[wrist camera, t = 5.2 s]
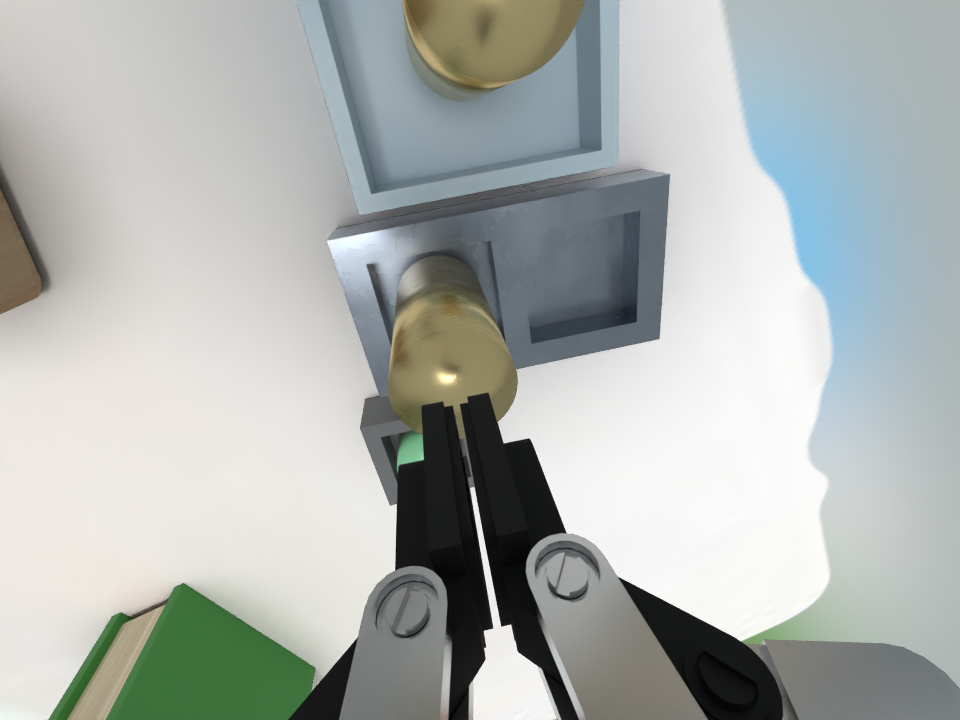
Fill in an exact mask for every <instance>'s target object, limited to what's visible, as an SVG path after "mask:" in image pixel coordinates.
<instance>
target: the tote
mask: <svg viewBox="0 0 960 720" xmlns="http://www.w3.org/2000/svg"><path fill="white" fill-rule="evenodd" d="M296 2H297V6H298V9H299V12H300V16H301V19H302V23H303V26H304V29H305V33H306V36H307V40H308V43H309V46H310V50H311V53H312V57H313V60H314V63H315V67H316V70H317V74H318V77H319V80H320V84H321V87H322V91H323V94H324V97H325V101H326V104H327V108H328V111H329V114H330V118H331V121H332V125H333V128H334V131H335V135H336V138H337V142H338V145H339V148H340V152H341V155H342V159H343V162H344V165H345V169H346V172H347V176H348V179H349V182H350V186H351V189H352V193H353V196H354V199H355V203H356V206H357V210H358V213H359V215H363V214H369V213H374V212H379V211H384V210H389V209H395V208H400V207H405V206H410V205H415V204H421V203H426V202H431V201H436V200H441V199H447V198H452V197H457V196H462V195H467V194H473V193H478V192H483V191H488V190H493V189H499V188H504V187H509V186H514V185H519V184H525V183H530V182H535V181H540V180H545V179H550V178H556V177H561V176H566V175H571V174H576V173H582V172H587V171H592V170H597V169H602V168H608V167H613V166H618V75H619V0H585V3H584V6H583V9H582V12H581V15H580V17H579V19H578V21H577V24H576V26H575V28H574V30H573V31H572V33H571V35H570V36H569V38H568V40H567V41H566V42H565V44H564V45H563V47H562V48H561V49H560V50H559V52H558V53H557V54H556V55H555V56H554V57H553V58H552V59H551V60H550V61H549V62H547V63H546V64H545V65H544V66H543V67H541V68H540V69H538V70H536V71H535V72H533V73H532V74H529V75H527V76H525V77H523V78H521V79H519V80H517V81H514V82H512V83H510V84H508V85H506V86H504V87H501V88H499V89H497V90H495V91H493V92H491V93H489V94H486V95H484V96H482V97H480V98H478V99H475V100H471V101H464V102H461V101H452V100H449V99H446V98H443V97H441V96H439V95H437V94H436V93H435V92H433V91H432V90H431V89H430V88H428V87H427V86H426V85H425V84H424V82H423V81H422V80H421V79H420V77H419V76H418V74H417V73H416V71H415V69H414V67H413V65H412V62H411V60H410V57H409V53H408V49H407V44H406V36H405V25H404V15H403V4H402V0H296Z"/></svg>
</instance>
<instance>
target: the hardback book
mask: <svg viewBox="0 0 960 720" xmlns="http://www.w3.org/2000/svg"><path fill="white" fill-rule="evenodd" d="M314 672H315V667H313V666H312V665H310V664H309V663H307V662H305V661H304V660H302V659H301V658H299V657H298V656H296V655H295V654H293V653H291V652H290V651H288V650H287V649H285V648H284V647H282V646H281V645H279V644H277V643H276V642H274V641H273V640H271V639H270V638H268V637H267V636H265V635H263V634H262V633H260V632H259V631H257V630H256V629H254V628H253V627H251V626H249V625H248V624H246V623H245V622H243V621H242V620H240V619H239V618H237V617H236V616H234V615H232V614H231V613H229V612H228V611H226V610H225V609H223V608H222V607H220V606H218V605H217V604H215V603H214V602H212V601H211V600H209V599H208V598H206V597H204V596H203V595H201V594H200V593H198V592H197V591H195V590H194V589H192V588H190V587H189V586H187V585H186V584H184V583H183V584H181V585H179V586H176V587H174V589H173V591H172V593H171V595H170V597H169V599H168V601H167V603H166V604H165V605H163V606H161V607H159V608H156V609H154V610H152V611H150V612H148V613H146V614H143V615H141V616H139V617H137V618H135V619H132V618H130V617H128V616H127V615H125V614H123V613H119V614H117V615H114V616H112V618H111V619H110V621H109V623H108V624H107V626H106V627H105V629H104V631H103V632H102V634H101V635H100V637H99V639H98V640H97V642H96V644H95V645H94V647H93V648H92V650H91V652H90V653H89V655H88V656H87V658H86V660H85V661H84V663H83V665H82V666H81V668H80V669H79V671H78V673H77V674H76V676H75V678H74V679H73V681H72V682H71V684H70V686H69V687H68V689H67V690H66V692H65V694H64V695H63V697H62V699H61V700H60V702H59V703H58V705H57V707H56V708H55V710H54V711H53V713H52V715H51V716H50V718H49V720H288V719H289V718H290V717H291V716H292V714H293V713H294V712H295V711H296V710H297V708H298V707H299V706H300V705H301V704H302V703H303V701H304V700H305V699H306V698H307V697H308V696H309V694H310V693H311V689H312V683H313V678H314Z"/></svg>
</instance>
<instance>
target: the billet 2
mask: <svg viewBox="0 0 960 720" xmlns="http://www.w3.org/2000/svg"><path fill="white" fill-rule="evenodd" d="M517 384H518V380H517V372H516V368H515V365H514V362H513V360H512V358H511V355H510V353H509V351H508V348H507V346H506V344H505V341H504V339H503V336H502V334H501V332H500V329H499V327H498V325H497V322H496V320H495V318H494V315H493V313H492V311H491V308H490V306H489V304H488V301H487V299H486V297H485V294H484V292H483V290H482V287H481V285H480V282H479V280H478V278H477V276H476V274H475V273H474V272H473V270H472V269H471V268H470V267H469V266H468V265H466V264H465V263H464V262H462V261H460V260H458V259H456V258H453V257H449V256H443V255H436V256H429V257H426V258H423V259H421V260H419V261H417V262H415V263H414V264H413V265H411V266H410V267H409V268H408V269H407V270H406V271H405V273H404V274H403V276H402V277H401V279H400V282H399V284H398V289H397V297H396V307H395V317H394V327H393V337H392V347H391V357H390V367H389V377H388V396H389V401H390V404H391V406H392V408H393V410H394V412H395V413H396V415H397V416H398V417H399V419H400V420H401V421H402V422H403V423H404V424H405V425H406V426H408V427H409V428H411V429H412V430H414V431H416V432H418V433H419V434H422V435H423V432H422V411H421V406H422V405H426V404H431V403H437V402H442V401H443V402H444V406H445V407H447V406H452V405H453V409H454V413H455V418H456V423H457V428H458V433H459V438H460V439H462V438H466V436H465V431H464V425H463V420H462V414H461V409H460V404H462V403H467V402H468V400H467V396H473V395H478V394H483V393H489V396H490V399H491V403H492V406H493V409H494V413H495V416H496V420H497V422H498V421H499V420H500V419H501V418H502V417H503V416H504V415H505V414H506V413H507V411H508V410H509V408H510V407H511V405H512V403H513V401H514V398H515V395H516V391H517Z"/></svg>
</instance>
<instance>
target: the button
mask: <svg viewBox="0 0 960 720" xmlns="http://www.w3.org/2000/svg"><path fill="white" fill-rule="evenodd" d="M421 460H424V452H423V435H422V434H419V433H418V432H416V431H414V430H412V431H407V432H403V433H399V438H398V457H397V472H398V467H399V465H401V464H406V463H411V462H416V461H421Z"/></svg>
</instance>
